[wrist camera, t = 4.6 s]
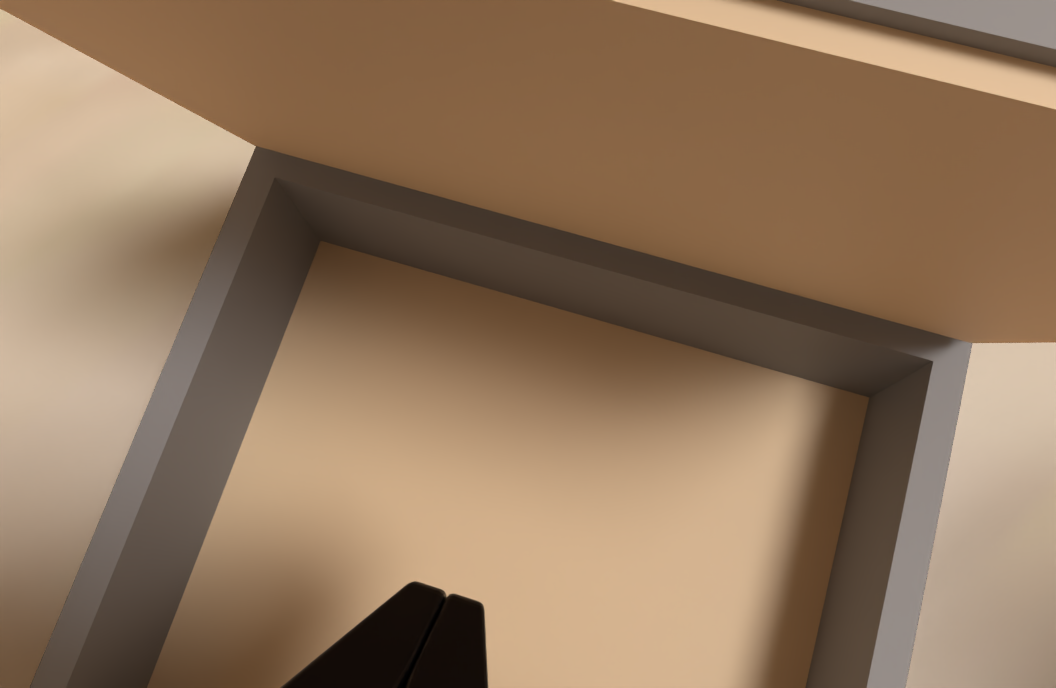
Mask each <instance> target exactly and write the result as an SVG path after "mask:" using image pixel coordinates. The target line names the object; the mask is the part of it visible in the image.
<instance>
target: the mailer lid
mask: <svg viewBox="0 0 1056 688" xmlns="http://www.w3.org/2000/svg"><path fill="white" fill-rule="evenodd" d="M0 9H2V10H4V11H6V12H8V13H10V14H11V15H13V16H15V17H17V18H19V19H21V20H23V21H24V22H26V23H28V24H30V25H32V26H34V27H36V28H37V29H39V30H41V31H43V32H45V33H47V34H49V35H50V36H52V37H54V38H56V39H58V40H60V41H62V42H63V43H65V44H67V45H69V46H71V47H73V48H75V49H76V50H78V51H80V52H82V53H84V54H86V55H87V56H89V57H91V58H93V59H95V60H97V61H99V62H100V63H102V64H104V65H106V66H108V67H110V68H112V69H113V70H115V71H117V72H119V73H121V74H123V75H125V76H126V77H128V78H130V79H132V80H134V81H136V82H138V83H139V84H141V85H143V86H145V87H147V88H149V89H151V90H152V91H154V92H156V93H158V94H160V95H162V96H164V97H165V98H167V99H169V100H171V101H173V102H175V103H177V104H178V105H180V106H182V107H184V108H186V109H188V110H190V111H191V112H193V113H195V114H197V115H199V116H201V117H203V118H204V119H206V120H208V121H210V122H212V123H214V124H216V125H217V126H219V127H221V128H223V129H225V130H227V131H229V132H230V133H232V134H234V135H236V136H238V137H240V138H242V139H243V140H245V141H247V142H249V143H251V144H253V145H255V146H258V147H261V148H265V149H269V150H272V151H276V152H280V153H283V154H287V155H290V156H294V157H298V158H301V159H305V160H309V161H312V162H316V163H319V164H323V165H327V166H330V167H334V168H338V169H341V170H345V171H348V172H352V173H356V174H359V175H363V176H367V177H370V178H374V179H377V180H381V181H385V182H388V183H392V184H396V185H399V186H403V187H406V188H410V189H414V190H417V191H421V192H425V193H428V194H432V195H435V196H439V197H443V198H446V199H450V200H454V201H457V202H461V203H464V204H468V205H472V206H475V207H479V208H483V209H486V210H490V211H493V212H497V213H501V214H504V215H508V216H512V217H515V218H519V219H522V220H526V221H530V222H533V223H537V224H541V225H544V226H548V227H551V228H555V229H559V230H562V231H566V232H570V233H573V234H577V235H581V236H584V237H588V238H591V239H595V240H599V241H602V242H606V243H610V244H613V245H617V246H620V247H624V248H628V249H631V250H635V251H639V252H642V253H646V254H649V255H653V256H657V257H660V258H664V259H668V260H671V261H675V262H678V263H682V264H686V265H689V266H693V267H697V268H700V269H704V270H707V271H711V272H715V273H718V274H722V275H726V276H729V277H733V278H736V279H740V280H744V281H747V282H751V283H755V284H758V285H762V286H765V287H769V288H773V289H776V290H780V291H784V292H787V293H791V294H794V295H798V296H802V297H805V298H809V299H813V300H816V301H820V302H823V303H827V304H831V305H834V306H838V307H842V308H845V309H849V310H852V311H856V312H860V313H863V314H867V315H871V316H874V317H878V318H881V319H885V320H889V321H892V322H896V323H900V324H903V325H907V326H911V327H914V328H918V329H921V330H925V331H929V332H932V333H936V334H940V335H943V336H947V337H950V338H954V339H958V340H961V341H965V342H969V343H1033V342H1056V0H0Z"/></svg>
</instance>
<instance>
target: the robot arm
mask: <svg viewBox="0 0 1056 688" xmlns="http://www.w3.org/2000/svg"><path fill="white" fill-rule="evenodd" d="M280 688H488V670H487V649H486V628H485V610H484V606H483V604H482V603H481V602H479V601H476V600H473V599H470V598H467V597H464V596H461V595H458V594H453V593H452V594H449V595H448V596H446V593H445V591H443V590H442V589H439V588H436V587H433V586H430V585H427V584H424V583H421V582H417V581H414V582H410V583H408V584H407V585H405V586H404V587H403V588H402V589H400V590H399V591H398V592H397V593H396V594H394V595H393V596H392V597H391V598H389V599H388V600H387V601H386V602H385V603H383V604H382V605H381V606H380V607H378V608H377V609H376V610H375V611H373V612H372V613H371V614H370V615H369V616H367V617H366V618H365V619H364V620H362V621H361V622H360V623H359V624H357V625H356V626H355V627H354V628H353V629H351V630H350V631H349V632H348V633H346V634H345V635H344V636H343V637H342V638H340V639H339V640H338V641H337V642H335V643H334V644H333V645H332V646H330V647H329V648H328V649H327V650H326V651H324V652H323V653H322V654H321V655H319V656H318V657H317V658H316V659H315V660H313V661H312V662H311V663H310V664H308V665H307V666H306V667H305V668H303V669H302V670H301V671H300V672H299V673H297V674H296V675H295V676H294V677H292V678H291V679H290V680H289V681H288V682H286V683H285V684H284V685H283V686H281V687H280Z"/></svg>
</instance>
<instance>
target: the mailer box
mask: <svg viewBox="0 0 1056 688" xmlns="http://www.w3.org/2000/svg"><path fill="white" fill-rule="evenodd" d="M971 348H972V343H969V342H965V341H961V340H958V339H954V338H950V337H947V336H943V335H940V334H936V333H932V332H929V331H925V330H921V329H918V328H914V327H911V326H907V325H903V324H900V323H896V322H892V321H889V320H885V319H881V318H878V317H874V316H871V315H867V314H863V313H860V312H856V311H852V310H849V309H845V308H842V307H838V306H834V305H831V304H827V303H823V302H820V301H816V300H813V299H809V298H805V297H802V296H798V295H794V294H791V293H787V292H784V291H780V290H776V289H773V288H769V287H765V286H762V285H758V284H755V283H751V282H747V281H744V280H740V279H736V278H733V277H729V276H726V275H722V274H718V273H715V272H711V271H707V270H704V269H700V268H697V267H693V266H689V265H686V264H682V263H678V262H675V261H671V260H668V259H664V258H660V257H657V256H653V255H649V254H646V253H642V252H639V251H635V250H631V249H628V248H624V247H620V246H617V245H613V244H610V243H606V242H602V241H599V240H595V239H591V238H588V237H584V236H581V235H577V234H573V233H570V232H566V231H562V230H559V229H555V228H551V227H548V226H544V225H541V224H537V223H533V222H530V221H526V220H522V219H519V218H515V217H512V216H508V215H504V214H501V213H497V212H493V211H490V210H486V209H483V208H479V207H475V206H472V205H468V204H464V203H461V202H457V201H454V200H450V199H446V198H443V197H439V196H435V195H432V194H428V193H425V192H421V191H417V190H414V189H410V188H406V187H403V186H399V185H396V184H392V183H388V182H385V181H381V180H377V179H374V178H370V177H367V176H363V175H359V174H356V173H352V172H348V171H345V170H341V169H338V168H334V167H330V166H327V165H323V164H319V163H316V162H312V161H309V160H305V159H301V158H298V157H294V156H290V155H287V154H283V153H280V152H276V151H272V150H269V149H265V148H261V147H258V146H256V148H255V150H254V153H253V155H252V157H251V160H250V162H249V165H248V167H247V169H246V172H245V174H244V176H243V179H242V181H241V184H240V186H239V188H238V191H237V193H236V196H235V198H234V200H233V203H232V205H231V208H230V210H229V212H228V215H227V217H226V220H225V222H224V224H223V227H222V229H221V231H220V234H219V236H218V239H217V241H216V243H215V246H214V248H213V251H212V253H211V255H210V258H209V260H208V263H207V265H206V267H205V270H204V272H203V274H202V277H201V279H200V282H199V284H198V286H197V289H196V291H195V294H194V296H193V298H192V301H191V303H190V306H189V308H188V310H187V313H186V315H185V318H184V320H183V322H182V325H181V327H180V329H179V332H178V334H177V337H176V339H175V341H174V344H173V346H172V349H171V351H170V353H169V356H168V358H167V361H166V363H165V365H164V368H163V370H162V372H161V375H160V377H159V380H158V382H157V384H156V387H155V389H154V392H153V394H152V396H151V399H150V401H149V404H148V406H147V408H146V411H145V413H144V416H143V418H142V420H141V423H140V425H139V427H138V430H137V432H136V435H135V437H134V439H133V442H132V444H131V447H130V449H129V451H128V454H127V456H126V459H125V461H124V463H123V466H122V468H121V470H120V473H119V475H118V478H117V480H116V482H115V485H114V487H113V490H112V492H111V494H110V497H109V499H108V502H107V504H106V506H105V509H104V511H103V514H102V516H101V518H100V521H99V523H98V525H97V528H96V530H95V533H94V535H93V537H92V540H91V542H90V545H89V547H88V549H87V552H86V554H85V557H84V559H83V561H82V564H81V566H80V569H79V571H78V573H77V576H76V578H75V580H74V583H73V585H72V588H71V590H70V592H69V595H68V597H67V600H66V602H65V604H64V607H63V609H62V612H61V614H60V616H59V619H58V621H57V623H56V626H55V628H54V631H53V633H52V635H51V638H50V640H49V643H48V645H47V647H46V650H45V652H44V655H43V657H42V659H41V662H40V664H39V667H38V669H37V671H36V674H35V676H34V678H33V681H32V683H31V686H30V688H280V687H281V686H283V685H284V684H285V683H286V682H288V681H289V680H290V679H291V678H292V677H294V676H295V675H296V674H297V673H299V672H300V671H301V670H302V669H303V668H305V667H306V666H307V665H308V664H310V663H311V662H312V661H313V660H315V659H316V658H317V657H318V656H319V655H321V654H322V653H323V652H324V651H326V650H327V649H328V648H329V647H330V646H332V645H333V644H334V643H335V642H337V641H338V640H339V639H340V638H342V637H343V636H344V635H345V634H346V633H348V632H349V631H350V630H351V629H353V628H354V627H355V626H356V625H357V624H359V623H360V622H361V621H362V620H364V619H365V618H366V617H367V616H369V615H370V614H371V613H372V612H373V611H375V610H376V609H377V608H378V607H380V606H381V605H382V604H383V603H385V602H386V601H387V600H388V599H389V598H391V597H392V596H393V595H394V594H396V593H397V592H398V591H399V590H400V589H402V588H403V587H404V586H405V585H407V584H408V583H410V582H414V581H417V582H421V583H424V584H427V585H430V586H433V587H436V588H439V589H442V590H443V591H445V593H446V596H448V595H449V594H452V593H453V594H458V595H461V596H464V597H467V598H470V599H473V600H476V601H479V602H481V603H482V604H483V606H484V610H485V628H486V649H487V670H488V688H905V687H906V682H907V677H908V671H909V666H910V661H911V656H912V651H913V646H914V641H915V635H916V630H917V625H918V620H919V615H920V610H921V605H922V599H923V594H924V589H925V584H926V579H927V574H928V569H929V563H930V558H931V553H932V548H933V543H934V538H935V533H936V528H937V522H938V517H939V512H940V507H941V502H942V497H943V492H944V486H945V481H946V476H947V471H948V466H949V461H950V456H951V450H952V445H953V440H954V435H955V430H956V425H957V420H958V415H959V409H960V404H961V399H962V394H963V389H964V384H965V379H966V373H967V368H968V363H969V358H970V353H971Z"/></svg>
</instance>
